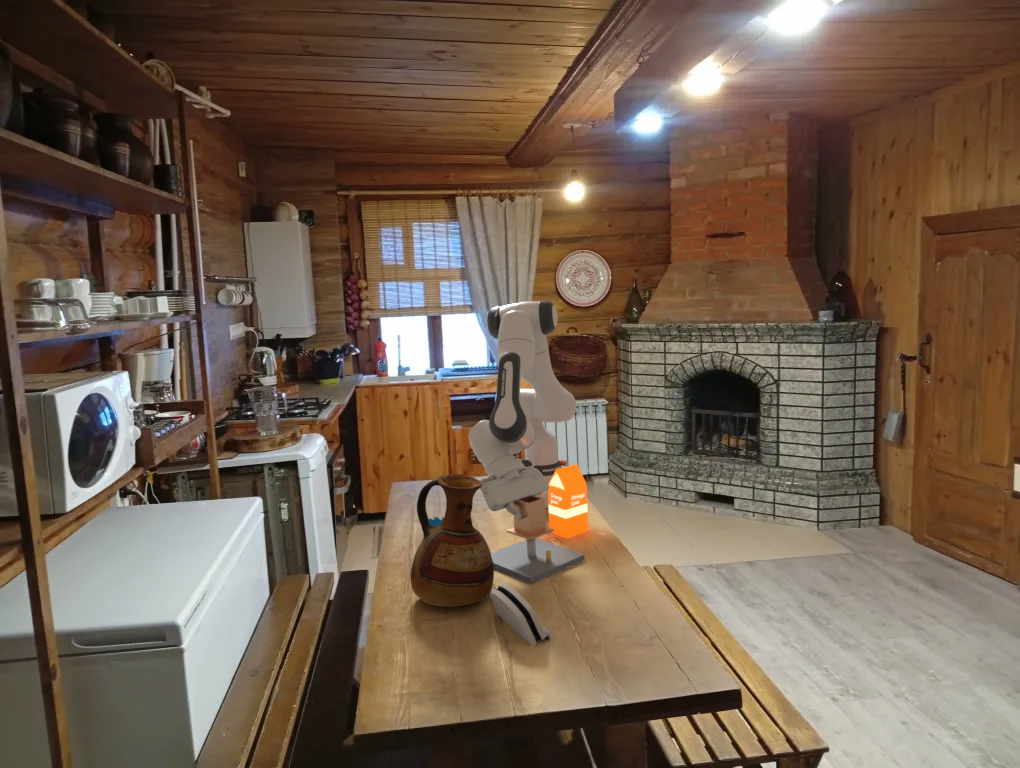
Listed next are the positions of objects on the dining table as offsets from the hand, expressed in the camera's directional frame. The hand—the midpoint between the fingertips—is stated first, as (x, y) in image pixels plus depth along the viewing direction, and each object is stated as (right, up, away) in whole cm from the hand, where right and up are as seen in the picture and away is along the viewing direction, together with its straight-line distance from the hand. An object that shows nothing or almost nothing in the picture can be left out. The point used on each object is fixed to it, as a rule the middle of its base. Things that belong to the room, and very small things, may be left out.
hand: (531, 514), depth 185 cm
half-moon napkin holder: (-4, -19, -33) cm, 38 cm away
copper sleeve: (0, -5, +1) cm, 5 cm away
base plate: (0, -13, +2) cm, 13 cm away
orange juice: (+12, -10, +23) cm, 28 cm away
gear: (-26, -12, +23) cm, 37 cm away
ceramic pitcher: (-19, -17, -17) cm, 31 cm away
